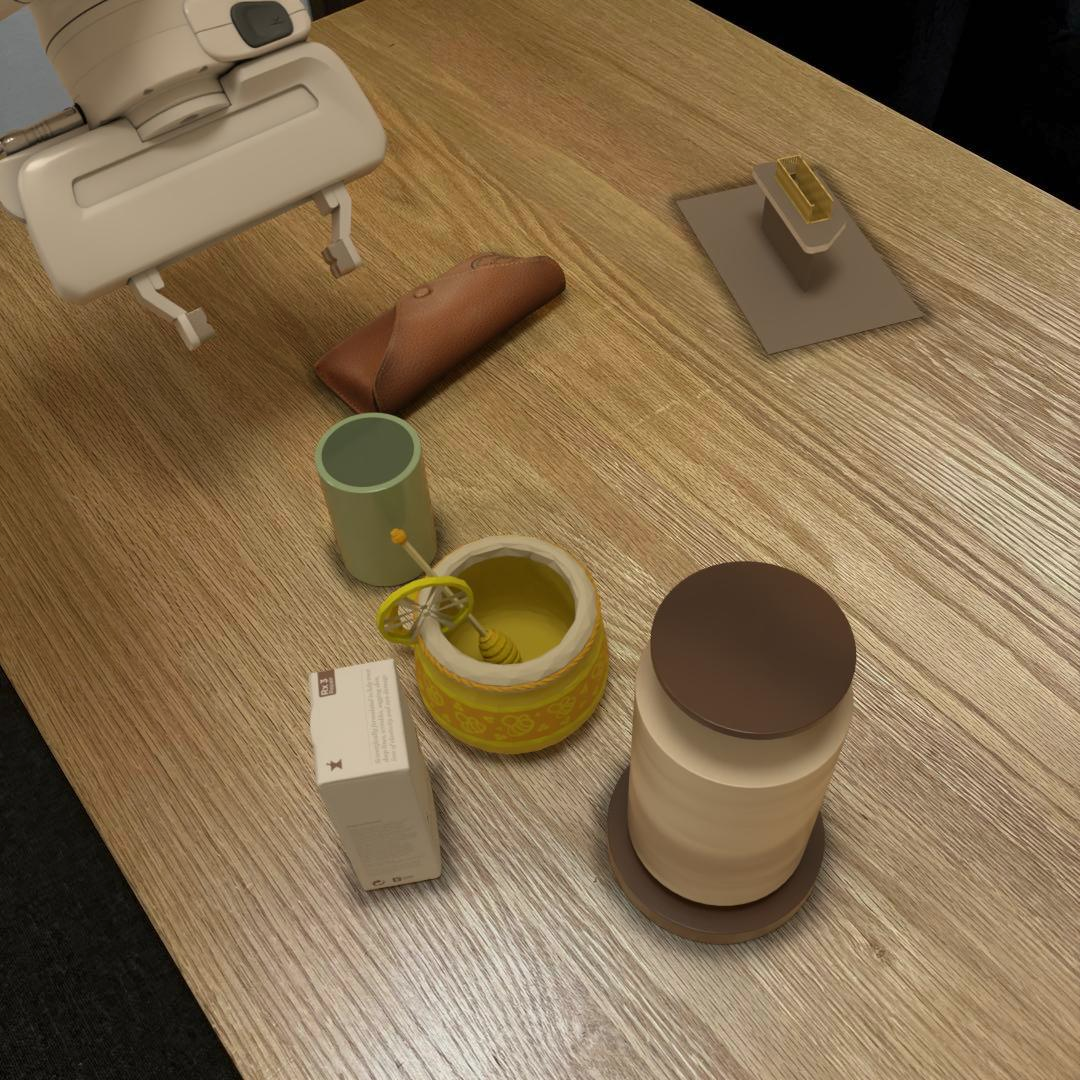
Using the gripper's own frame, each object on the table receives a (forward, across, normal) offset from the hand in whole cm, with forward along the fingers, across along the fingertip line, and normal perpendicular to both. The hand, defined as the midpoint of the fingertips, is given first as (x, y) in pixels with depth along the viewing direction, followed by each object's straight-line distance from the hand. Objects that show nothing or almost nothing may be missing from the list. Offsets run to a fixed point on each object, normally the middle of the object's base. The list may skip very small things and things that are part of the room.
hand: (278, 307), depth 67 cm
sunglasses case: (+6, +13, +13) cm, 20 cm away
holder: (+34, +3, -15) cm, 38 cm away
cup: (+16, 0, +4) cm, 16 cm away
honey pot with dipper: (+24, 0, -4) cm, 24 cm away
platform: (+13, +38, +7) cm, 41 cm away
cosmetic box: (+27, -10, -8) cm, 30 cm away
